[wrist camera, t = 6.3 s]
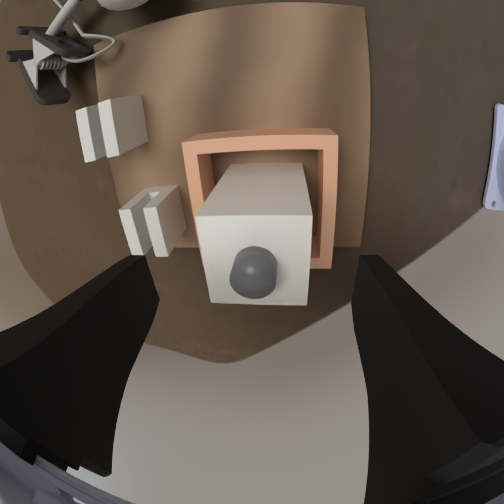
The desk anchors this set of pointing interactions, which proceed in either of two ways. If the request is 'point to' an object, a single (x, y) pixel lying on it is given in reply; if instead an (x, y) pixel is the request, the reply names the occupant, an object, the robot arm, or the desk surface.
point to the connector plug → (257, 235)
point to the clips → (149, 199)
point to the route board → (246, 96)
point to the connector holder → (271, 139)
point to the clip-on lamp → (58, 51)
